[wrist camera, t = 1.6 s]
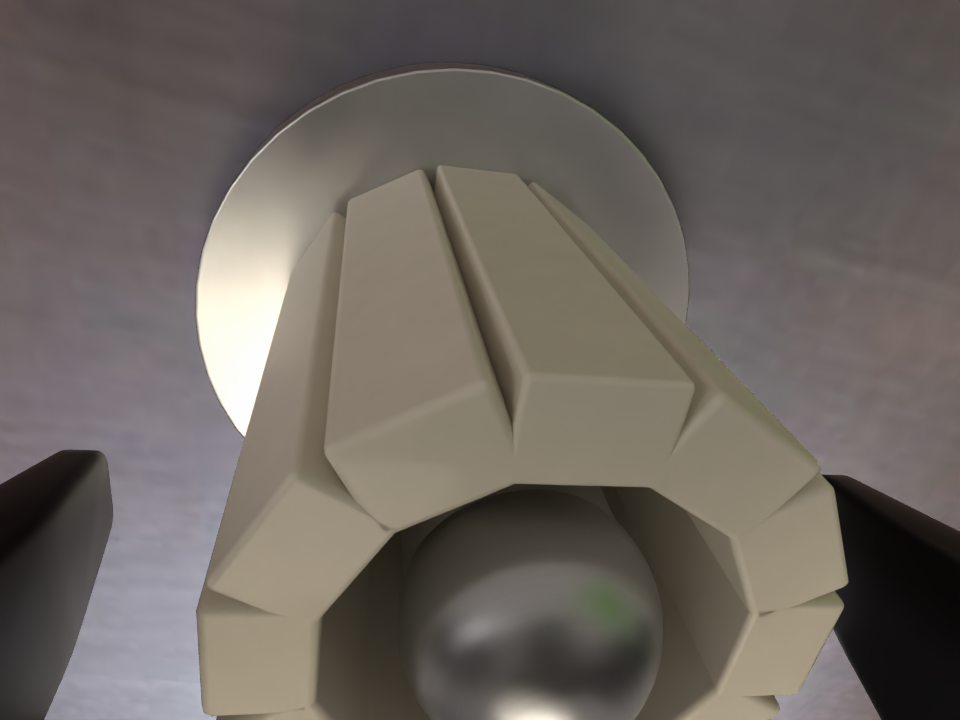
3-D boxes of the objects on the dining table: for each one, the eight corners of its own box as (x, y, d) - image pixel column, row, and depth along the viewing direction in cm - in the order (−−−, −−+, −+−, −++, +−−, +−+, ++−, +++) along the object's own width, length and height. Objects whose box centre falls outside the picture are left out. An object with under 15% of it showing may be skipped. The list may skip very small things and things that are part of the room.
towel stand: (214, 489, 14) (38, 1050, 7) (195, 21, 10) (-297, 88, 3) (611, 498, 16) (832, 950, 8) (728, 101, 12) (1352, 279, 4)
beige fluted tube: (282, 462, 13) (208, 864, 7) (288, 146, 10) (176, 353, 4) (576, 470, 14) (732, 822, 8) (649, 189, 12) (960, 400, 6)
